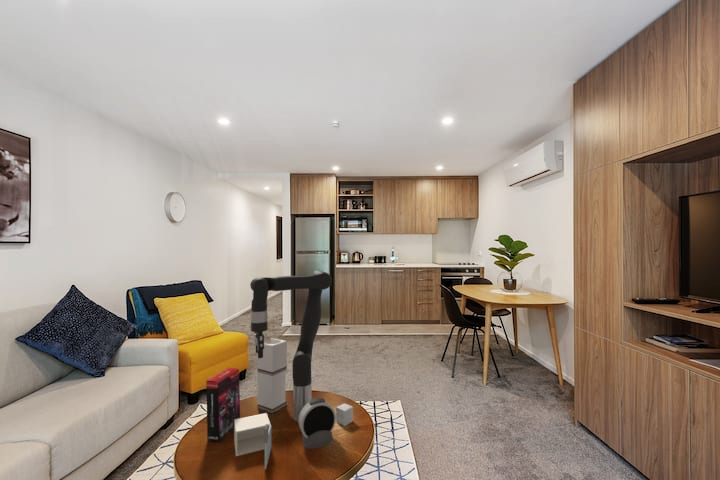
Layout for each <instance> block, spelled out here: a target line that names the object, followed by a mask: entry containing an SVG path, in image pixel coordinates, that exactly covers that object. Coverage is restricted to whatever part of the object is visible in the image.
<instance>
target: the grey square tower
mask: <svg viewBox="0 0 720 480" xmlns="http://www.w3.org/2000/svg"><path fill="white" fill-rule="evenodd" d="M261 347H262V345H261ZM287 353H288V341H287V340H285V339H278V338H273V337H271V338H270V343H265V342H264V349H263V358H258V353H256V354H257V359H256V360H257V361H256V363H257V367H256V368H257V369H256V370H257V374H256V375H257V379H256V380H257V382H256V383H257V384H256V385H257V403H256V404H257V409H260V410H263V411H265V412H267V413H272V414H274V413H275V412H277V411H279V410H281V409H282V408H285V406H287V405H288V401H287V400H286V373H287V371H288V368H287V367H288V363H287V362H288V354H287ZM273 412H274V413H273Z"/></svg>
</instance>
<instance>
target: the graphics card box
mask: <svg viewBox="0 0 720 480" xmlns="http://www.w3.org/2000/svg"><path fill="white" fill-rule="evenodd" d="M205 385H206V388H205V389H206V433H207V434H206V436H207V437H206V438H207V439H206V440H207V441H208V442H212V443H213V442H214V443H220V442H222V441H223V439H225V438H226V437H227V436H228V435H229V434H230V433H231V432H232V431H234V419H239V418H241V407H240V406H241V402H240V401H241V398H240V397H241V396H240V369H239V368H235V367H227V368H226V369H224V370H222V371H221V372H219V373H217V374H216V375H214V376H213V377H211V378H209V379H207V380H206V384H205Z"/></svg>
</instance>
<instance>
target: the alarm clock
mask: <svg viewBox="0 0 720 480" xmlns="http://www.w3.org/2000/svg"><path fill="white" fill-rule="evenodd" d="M312 399H313V400H311V401H310V402H309V403H307V404H306V405H305V406H304V407H303V409H302V410H301V412H300V415H299V420H298V421H297V422H298V427H299V430H300V431H301V434H302V437H301V442H302V444H303V446H304V447H305V449H306V450H311V449H312V450H313V449H319V448H322V447H325V446H327V445H330V444H332V443H333V442H334V437H333V433H332V431H333V430H334V428H335V426H336V423H337V422H336V411H335V409H334V408H333V407H332V406H331V404H330V403H329V402H328V401H327V400H325V399H324V398H323V397H316V398H312Z"/></svg>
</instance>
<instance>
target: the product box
mask: <svg viewBox="0 0 720 480" xmlns="http://www.w3.org/2000/svg"><path fill="white" fill-rule="evenodd" d="M335 413H336V423H337V424H340V425H341V426H344V427H346V426H348V425H349V424H351V423H352V422H354V407H353V406H352V405H350V404H347V403H342V404H341V405H338V406H336V411H335Z"/></svg>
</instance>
